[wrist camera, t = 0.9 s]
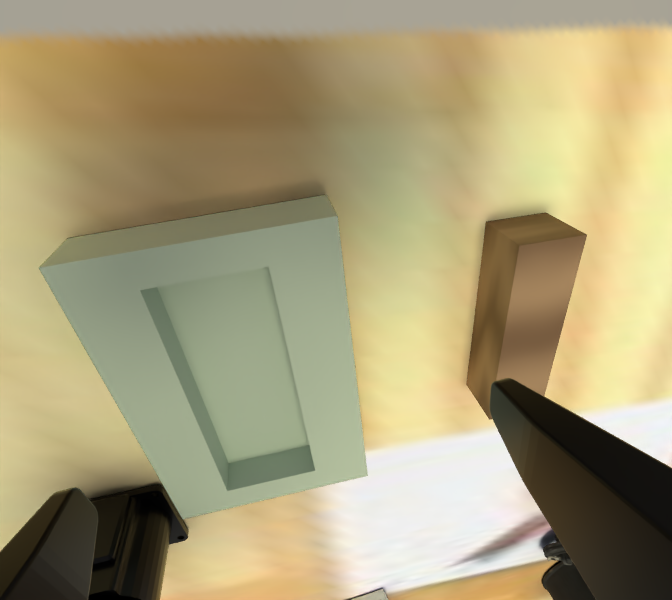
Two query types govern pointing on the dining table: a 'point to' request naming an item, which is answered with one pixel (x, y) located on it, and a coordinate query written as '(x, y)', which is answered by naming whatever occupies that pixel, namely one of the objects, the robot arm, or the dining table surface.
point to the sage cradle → (223, 348)
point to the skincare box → (373, 596)
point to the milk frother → (564, 576)
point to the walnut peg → (521, 301)
